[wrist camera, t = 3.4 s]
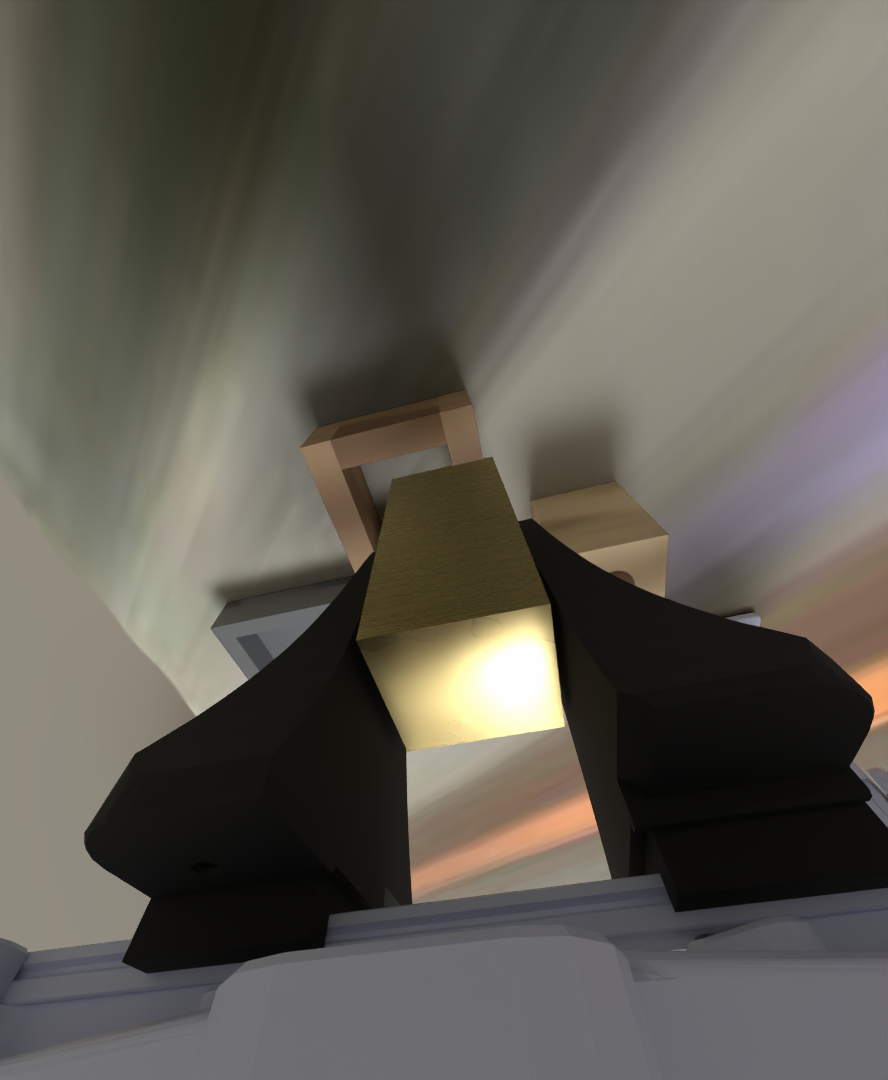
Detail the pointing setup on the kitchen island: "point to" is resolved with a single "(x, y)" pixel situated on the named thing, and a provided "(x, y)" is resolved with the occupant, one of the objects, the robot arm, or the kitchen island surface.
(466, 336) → the kitchen island surface
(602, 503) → the block
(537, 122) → the kitchen island surface
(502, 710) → the gold rectangular block
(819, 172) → the kitchen island surface
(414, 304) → the kitchen island surface
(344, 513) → the brown rectangular frame
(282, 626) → the tray
